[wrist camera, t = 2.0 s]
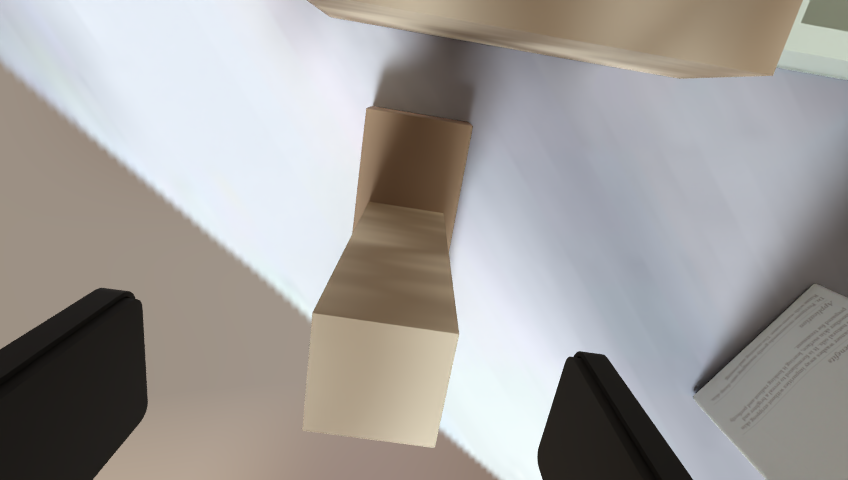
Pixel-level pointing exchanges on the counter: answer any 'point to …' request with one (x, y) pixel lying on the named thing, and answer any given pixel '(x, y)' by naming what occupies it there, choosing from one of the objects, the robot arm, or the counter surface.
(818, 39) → the box
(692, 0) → the birch block
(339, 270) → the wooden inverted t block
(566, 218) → the counter surface
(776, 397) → the skincare box
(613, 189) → the counter surface
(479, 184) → the counter surface
